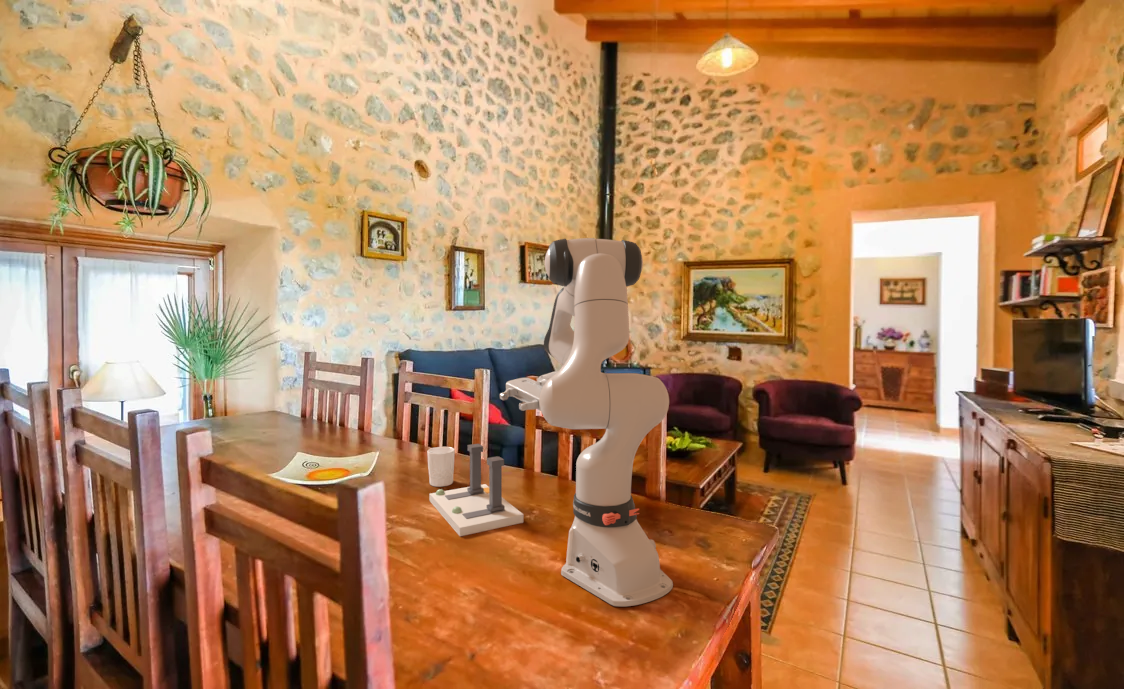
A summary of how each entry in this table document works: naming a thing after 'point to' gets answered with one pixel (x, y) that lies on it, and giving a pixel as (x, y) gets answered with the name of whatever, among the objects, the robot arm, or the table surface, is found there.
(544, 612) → the table surface
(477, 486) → the post
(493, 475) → the post
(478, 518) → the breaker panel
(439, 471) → the white cup
